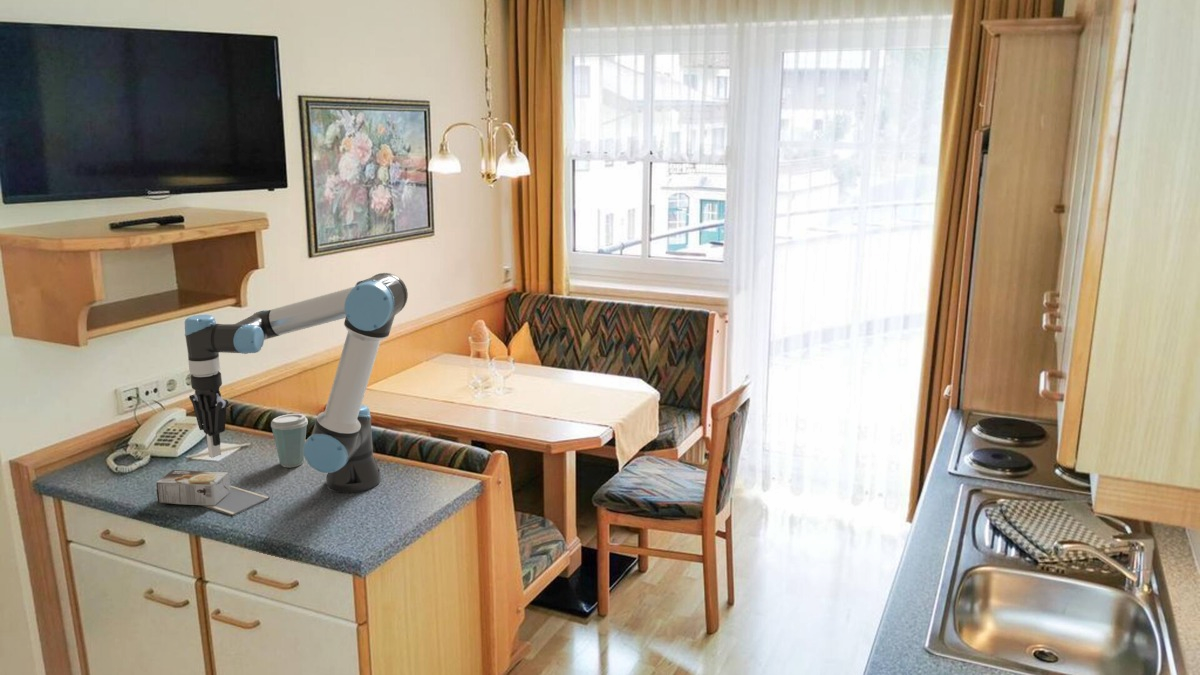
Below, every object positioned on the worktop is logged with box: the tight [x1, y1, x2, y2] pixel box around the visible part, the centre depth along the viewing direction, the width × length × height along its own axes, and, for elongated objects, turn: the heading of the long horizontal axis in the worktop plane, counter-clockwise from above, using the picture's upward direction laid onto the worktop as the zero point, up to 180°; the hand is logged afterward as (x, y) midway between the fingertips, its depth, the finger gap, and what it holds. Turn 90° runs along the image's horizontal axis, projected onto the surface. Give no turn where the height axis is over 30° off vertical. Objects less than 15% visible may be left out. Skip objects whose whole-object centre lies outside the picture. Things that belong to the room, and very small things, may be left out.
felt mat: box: [199, 484, 270, 517], centre depth 250 cm, size 26×12×1 cm, turn 60°
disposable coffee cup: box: [270, 413, 309, 468], centre depth 271 cm, size 11×11×15 cm
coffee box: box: [156, 469, 231, 506], centre depth 247 cm, size 9×6×16 cm
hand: (215, 455), depth 247 cm, fingers closed
